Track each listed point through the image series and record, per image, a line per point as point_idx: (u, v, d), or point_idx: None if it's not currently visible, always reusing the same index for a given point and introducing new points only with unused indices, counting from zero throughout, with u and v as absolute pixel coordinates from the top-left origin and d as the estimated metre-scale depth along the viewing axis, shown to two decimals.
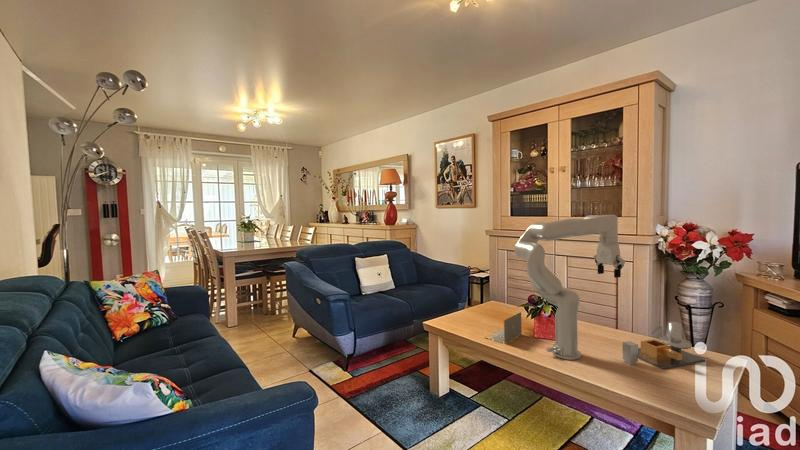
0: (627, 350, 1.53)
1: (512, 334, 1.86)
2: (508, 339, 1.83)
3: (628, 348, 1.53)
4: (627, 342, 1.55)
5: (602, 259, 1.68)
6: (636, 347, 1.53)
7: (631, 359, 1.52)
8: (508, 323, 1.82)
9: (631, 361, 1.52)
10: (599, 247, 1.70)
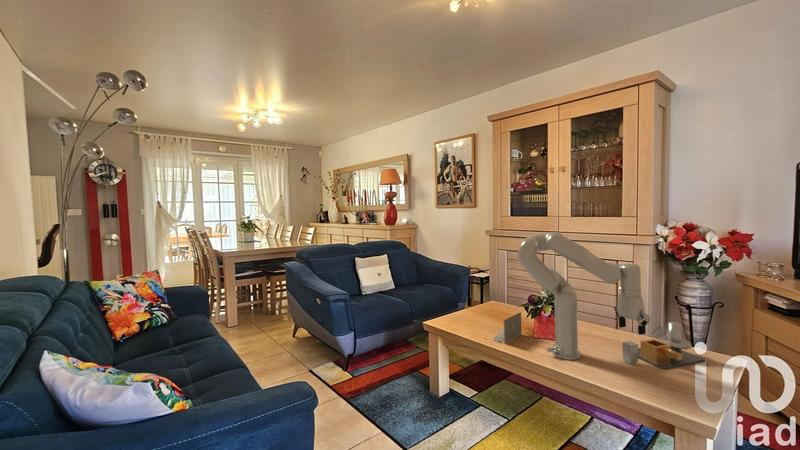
0: (627, 350, 1.53)
1: (512, 334, 1.86)
2: (508, 339, 1.83)
3: (629, 348, 1.53)
4: (627, 342, 1.55)
5: (624, 312, 1.53)
6: (636, 347, 1.53)
7: (631, 359, 1.52)
8: (508, 323, 1.82)
9: (631, 361, 1.52)
10: (620, 299, 1.55)
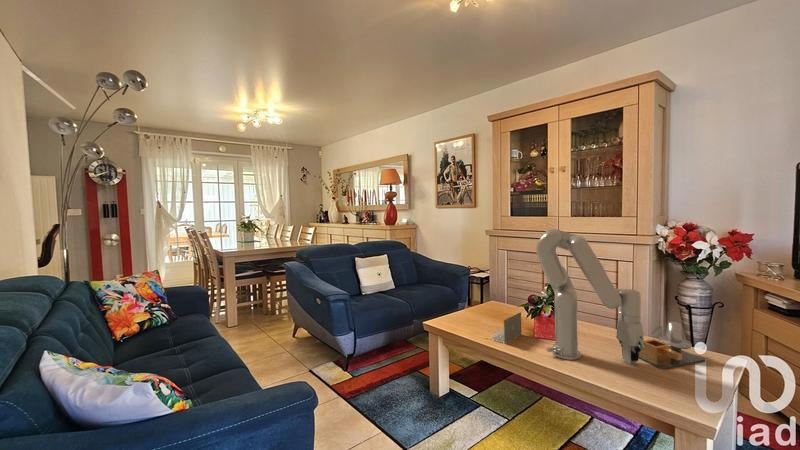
0: (627, 350, 1.53)
1: (512, 334, 1.86)
2: (508, 339, 1.83)
3: (628, 348, 1.53)
4: None
5: (623, 338, 1.54)
6: None
7: (631, 359, 1.52)
8: (508, 323, 1.82)
9: (631, 361, 1.52)
10: (620, 324, 1.56)
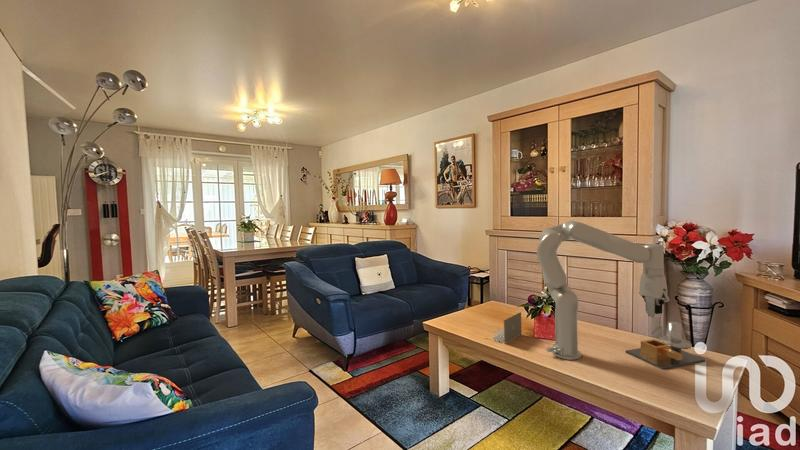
0: (651, 303, 1.55)
1: (512, 334, 1.86)
2: (508, 339, 1.83)
3: (652, 302, 1.54)
4: None
5: (647, 292, 1.56)
6: None
7: None
8: (508, 323, 1.82)
9: (655, 314, 1.54)
10: (643, 279, 1.58)
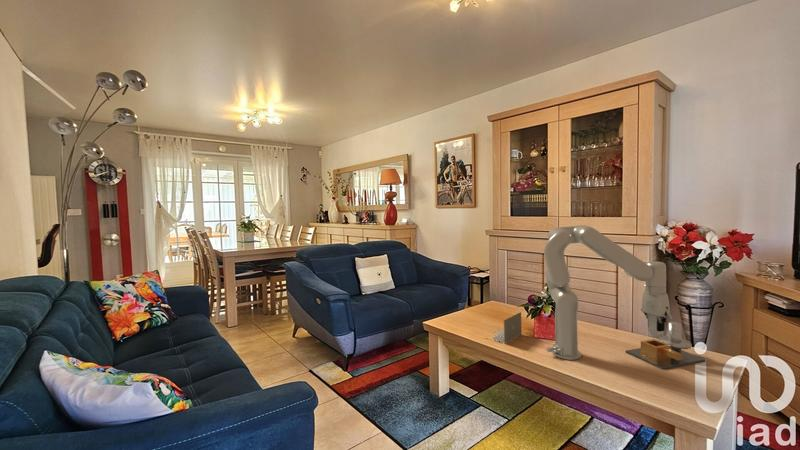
0: (653, 321, 1.56)
1: (512, 334, 1.86)
2: (508, 339, 1.83)
3: (655, 319, 1.55)
4: None
5: (649, 309, 1.57)
6: None
7: (657, 330, 1.55)
8: (508, 323, 1.82)
9: (657, 331, 1.55)
10: (645, 296, 1.58)
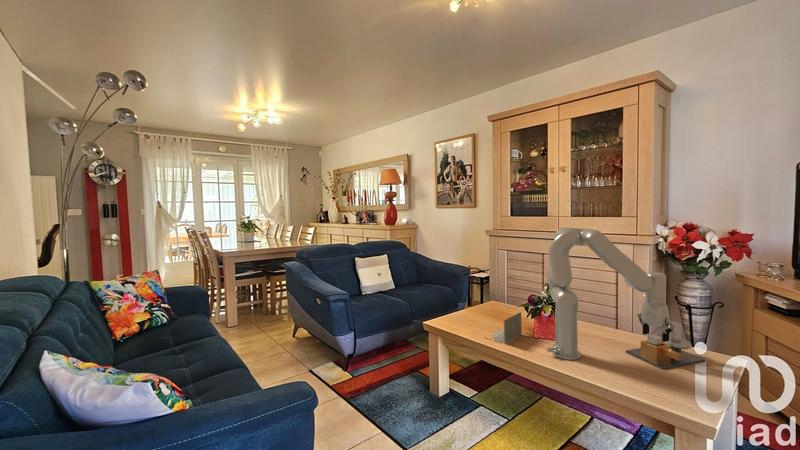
0: (653, 343, 1.57)
1: (512, 334, 1.86)
2: (508, 339, 1.83)
3: (654, 342, 1.56)
4: (652, 336, 1.58)
5: (649, 320, 1.57)
6: (661, 341, 1.56)
7: None
8: (508, 323, 1.82)
9: None
10: (645, 306, 1.59)
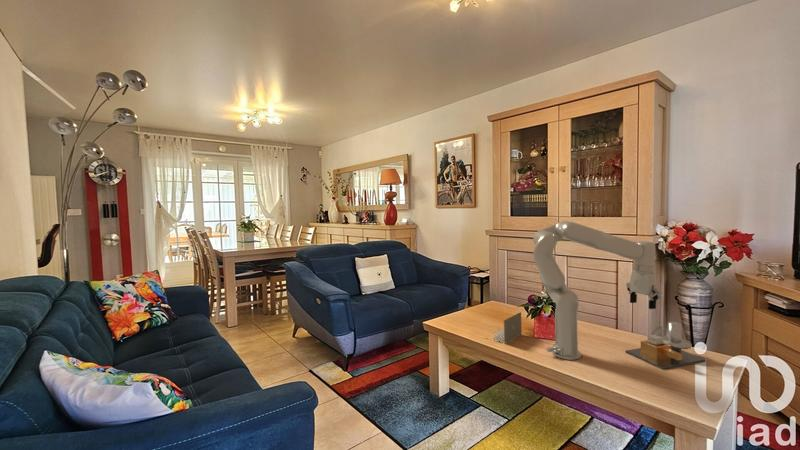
0: (653, 343, 1.57)
1: (512, 334, 1.86)
2: (508, 339, 1.83)
3: (654, 342, 1.56)
4: (652, 336, 1.58)
5: (636, 288, 1.59)
6: (661, 341, 1.56)
7: None
8: (508, 323, 1.82)
9: None
10: (633, 275, 1.61)
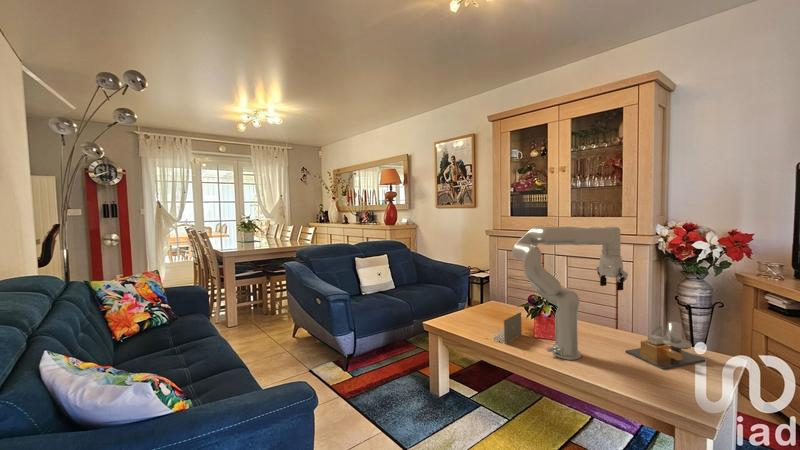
0: (653, 343, 1.57)
1: (512, 334, 1.86)
2: (508, 339, 1.83)
3: (654, 342, 1.56)
4: (652, 336, 1.58)
5: (605, 271, 1.67)
6: (661, 341, 1.56)
7: None
8: (508, 323, 1.82)
9: None
10: (602, 259, 1.69)
